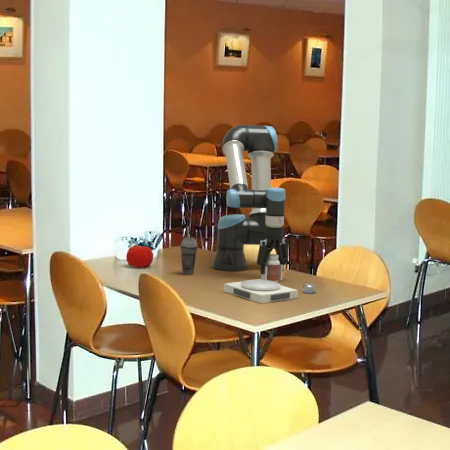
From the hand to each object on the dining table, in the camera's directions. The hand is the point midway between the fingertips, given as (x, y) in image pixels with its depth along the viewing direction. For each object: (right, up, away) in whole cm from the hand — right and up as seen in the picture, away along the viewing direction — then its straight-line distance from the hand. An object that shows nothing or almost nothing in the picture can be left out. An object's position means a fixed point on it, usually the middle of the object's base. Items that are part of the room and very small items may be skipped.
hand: (271, 280), depth 338 cm
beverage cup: (-35, +2, +8) cm, 36 cm away
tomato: (-56, +5, +19) cm, 59 cm away
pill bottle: (0, 0, 0) cm, 1 cm away
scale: (-6, -4, -25) cm, 26 cm away
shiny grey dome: (+14, -3, -17) cm, 22 cm away
